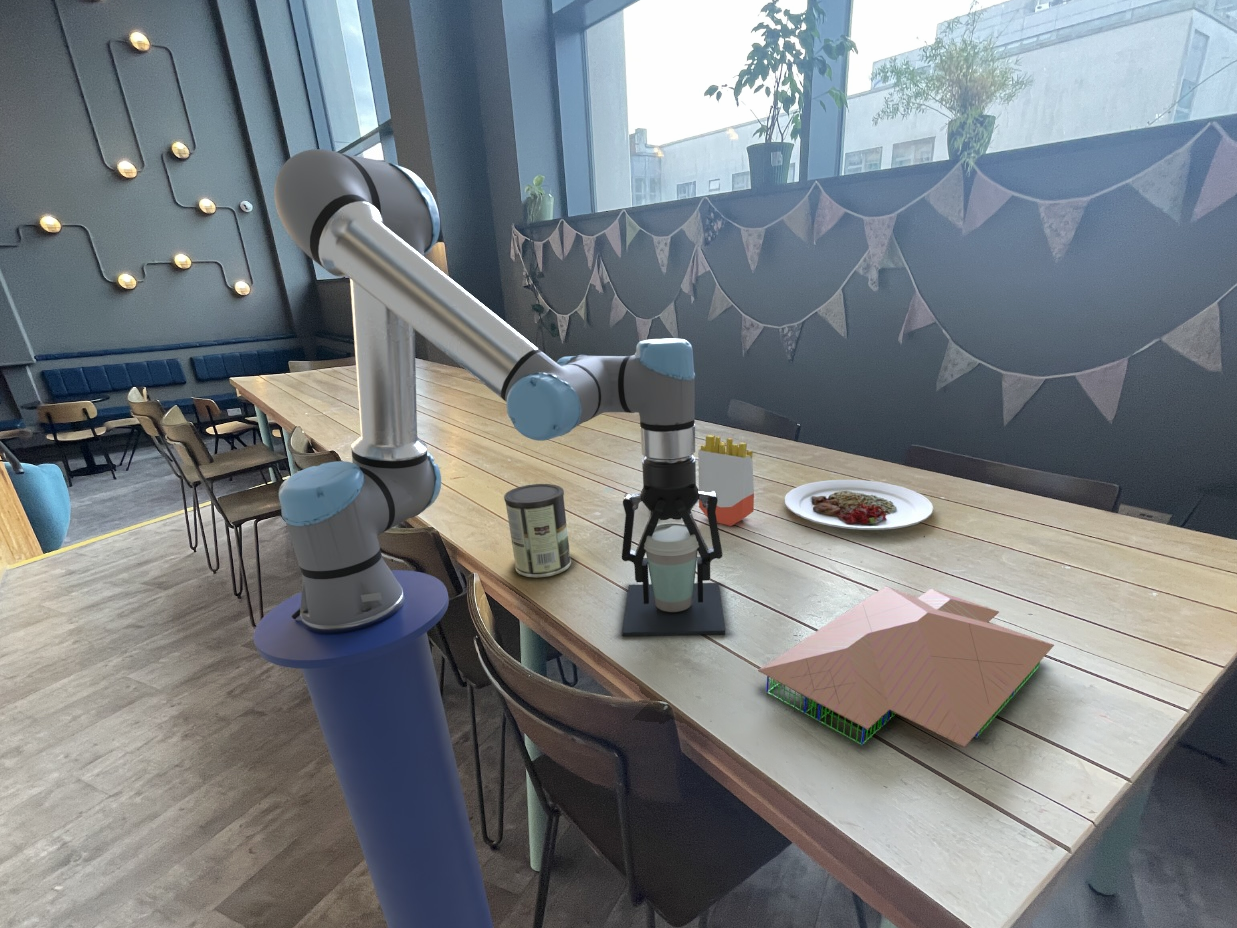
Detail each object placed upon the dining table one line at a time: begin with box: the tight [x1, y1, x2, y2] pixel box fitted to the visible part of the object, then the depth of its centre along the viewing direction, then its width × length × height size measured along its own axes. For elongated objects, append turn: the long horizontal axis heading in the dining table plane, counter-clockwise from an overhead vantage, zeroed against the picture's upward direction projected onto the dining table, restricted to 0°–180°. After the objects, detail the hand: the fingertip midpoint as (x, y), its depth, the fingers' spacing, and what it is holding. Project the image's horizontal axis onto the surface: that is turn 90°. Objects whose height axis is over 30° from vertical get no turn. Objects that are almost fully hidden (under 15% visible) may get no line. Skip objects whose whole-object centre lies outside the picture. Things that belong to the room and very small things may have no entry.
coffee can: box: [503, 483, 572, 579], centre depth 109 cm, size 10×10×14 cm
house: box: [757, 585, 1055, 748], centre depth 76 cm, size 23×33×8 cm
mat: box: [621, 582, 726, 637], centre depth 96 cm, size 15×15×1 cm
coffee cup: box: [644, 522, 699, 612], centre depth 93 cm, size 8×9×12 cm
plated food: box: [784, 479, 934, 531], centre depth 131 cm, size 30×30×3 cm
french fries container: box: [697, 434, 755, 527], centre depth 125 cm, size 5×11×18 cm, turn 50°
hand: (673, 598), depth 95 cm, fingers closed on coffee cup, 8 cm apart
